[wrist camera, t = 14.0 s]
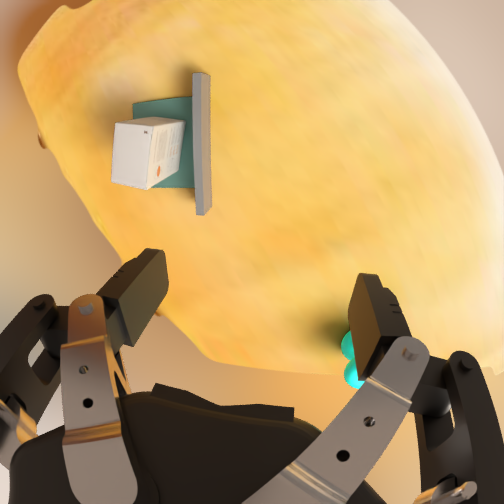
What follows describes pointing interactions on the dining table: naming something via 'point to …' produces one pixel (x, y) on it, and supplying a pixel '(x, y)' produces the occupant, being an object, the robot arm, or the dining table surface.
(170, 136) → the small box
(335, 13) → the dining table surface
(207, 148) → the divider wall
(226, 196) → the dining table surface
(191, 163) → the mat
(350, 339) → the donuts
